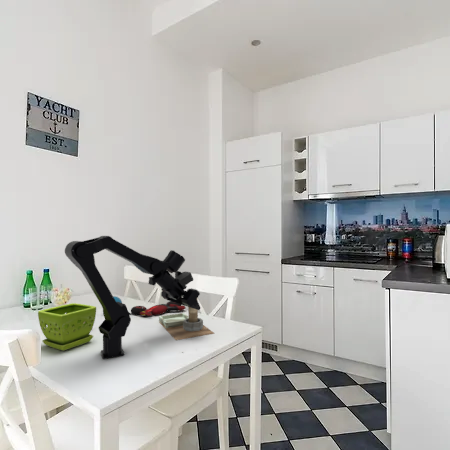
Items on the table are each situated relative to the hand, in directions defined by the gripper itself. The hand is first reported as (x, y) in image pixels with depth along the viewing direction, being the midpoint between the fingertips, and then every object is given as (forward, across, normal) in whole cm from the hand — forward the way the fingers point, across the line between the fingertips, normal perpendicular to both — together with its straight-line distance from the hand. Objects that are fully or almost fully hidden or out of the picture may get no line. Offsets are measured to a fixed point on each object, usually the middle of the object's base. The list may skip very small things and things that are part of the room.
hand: (192, 306), depth 122 cm
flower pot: (-22, +19, +35) cm, 45 cm away
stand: (+6, +4, +8) cm, 10 cm away
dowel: (+6, 0, +6) cm, 8 cm away
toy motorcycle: (+10, +32, +4) cm, 34 cm away
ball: (-2, +46, +16) cm, 49 cm away
